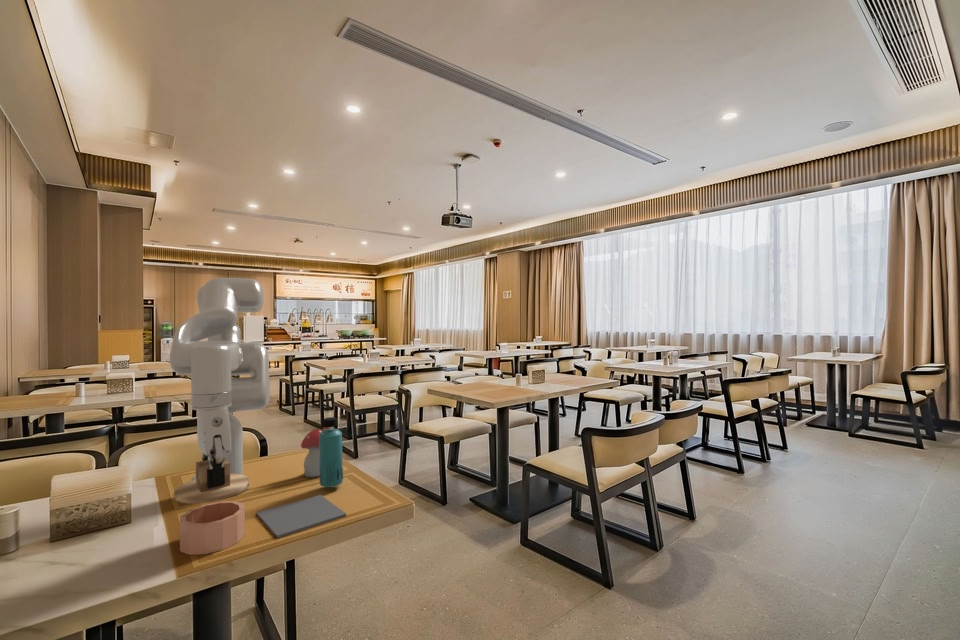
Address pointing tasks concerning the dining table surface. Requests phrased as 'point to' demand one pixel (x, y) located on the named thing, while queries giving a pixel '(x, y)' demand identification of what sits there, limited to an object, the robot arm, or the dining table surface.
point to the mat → (299, 515)
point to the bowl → (212, 527)
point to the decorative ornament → (312, 453)
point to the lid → (202, 494)
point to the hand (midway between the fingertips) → (212, 481)
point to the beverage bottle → (330, 454)
